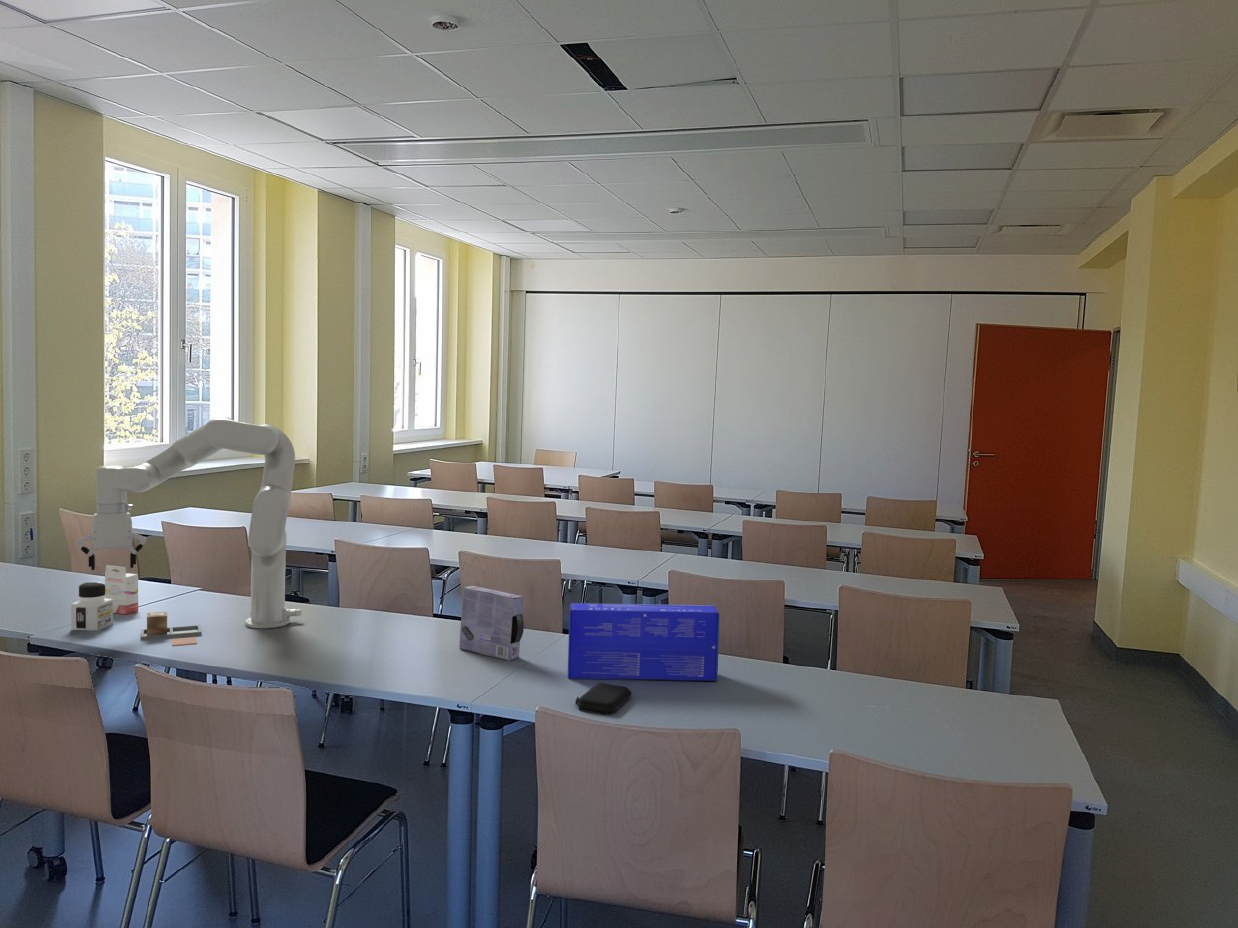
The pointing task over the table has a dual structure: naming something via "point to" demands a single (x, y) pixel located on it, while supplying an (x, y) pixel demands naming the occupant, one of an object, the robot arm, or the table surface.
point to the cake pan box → (491, 622)
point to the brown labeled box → (156, 623)
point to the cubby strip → (174, 632)
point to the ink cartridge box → (121, 589)
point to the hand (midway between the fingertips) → (112, 568)
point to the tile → (184, 641)
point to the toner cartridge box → (643, 642)
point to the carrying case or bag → (603, 698)
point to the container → (91, 608)
